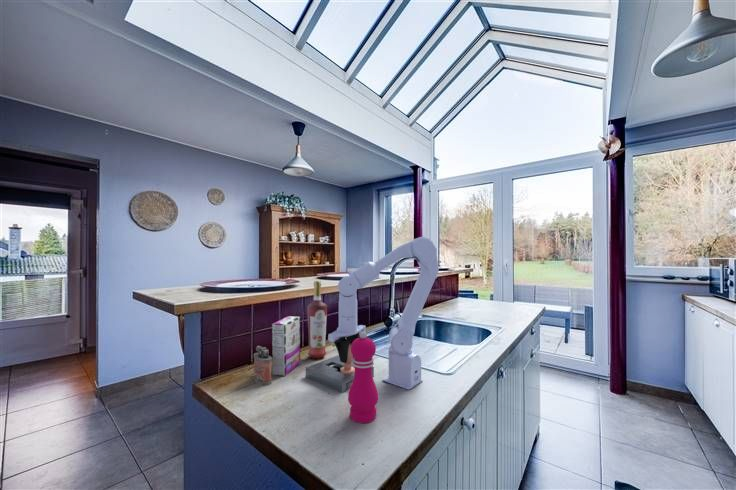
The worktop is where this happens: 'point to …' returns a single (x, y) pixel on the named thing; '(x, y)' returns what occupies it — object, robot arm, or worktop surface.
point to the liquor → (317, 324)
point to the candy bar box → (285, 345)
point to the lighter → (262, 366)
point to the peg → (348, 363)
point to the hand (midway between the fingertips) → (347, 360)
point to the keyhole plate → (330, 374)
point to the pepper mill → (363, 381)
